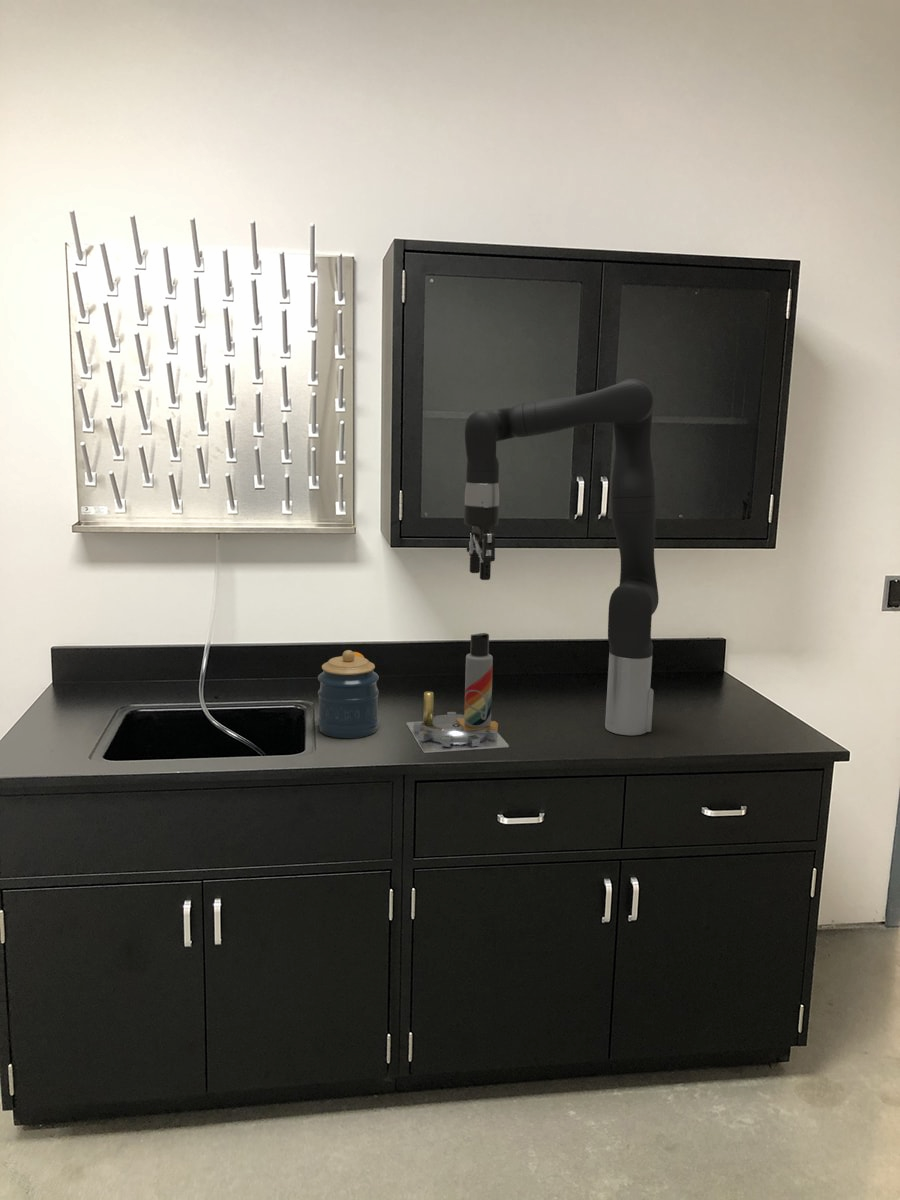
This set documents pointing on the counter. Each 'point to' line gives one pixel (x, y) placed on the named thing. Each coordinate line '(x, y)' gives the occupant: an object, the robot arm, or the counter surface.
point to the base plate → (437, 747)
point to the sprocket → (450, 727)
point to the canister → (348, 697)
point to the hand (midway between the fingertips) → (479, 576)
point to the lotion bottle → (478, 683)
